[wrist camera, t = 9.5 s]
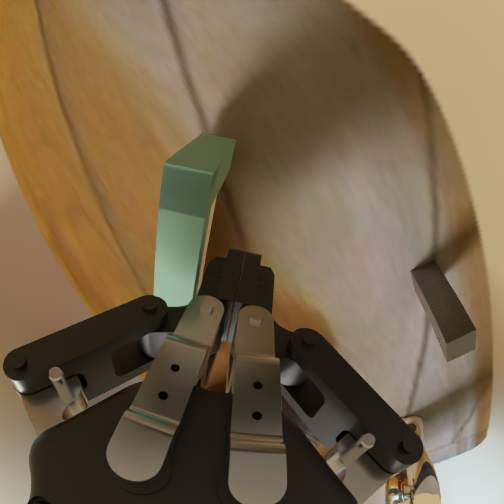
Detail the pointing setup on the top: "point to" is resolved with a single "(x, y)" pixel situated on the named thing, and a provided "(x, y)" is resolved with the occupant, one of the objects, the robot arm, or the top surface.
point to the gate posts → (444, 311)
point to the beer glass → (414, 477)
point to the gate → (188, 215)
